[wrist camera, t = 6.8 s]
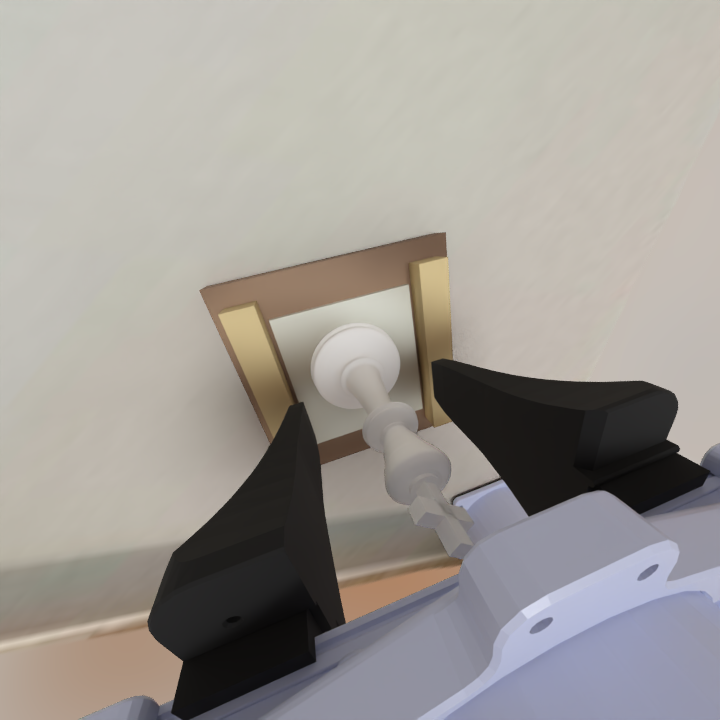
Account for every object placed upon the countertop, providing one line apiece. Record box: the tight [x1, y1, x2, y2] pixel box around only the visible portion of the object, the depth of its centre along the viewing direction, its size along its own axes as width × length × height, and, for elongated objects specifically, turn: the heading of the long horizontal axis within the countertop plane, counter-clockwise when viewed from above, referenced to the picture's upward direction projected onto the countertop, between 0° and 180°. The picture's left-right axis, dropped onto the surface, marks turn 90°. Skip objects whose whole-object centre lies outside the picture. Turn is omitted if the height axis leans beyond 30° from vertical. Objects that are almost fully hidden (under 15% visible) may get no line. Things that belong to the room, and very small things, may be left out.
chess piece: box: [311, 323, 474, 558], centre depth 10 cm, size 5×5×10 cm
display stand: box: [199, 232, 453, 465], centre depth 15 cm, size 12×12×2 cm
